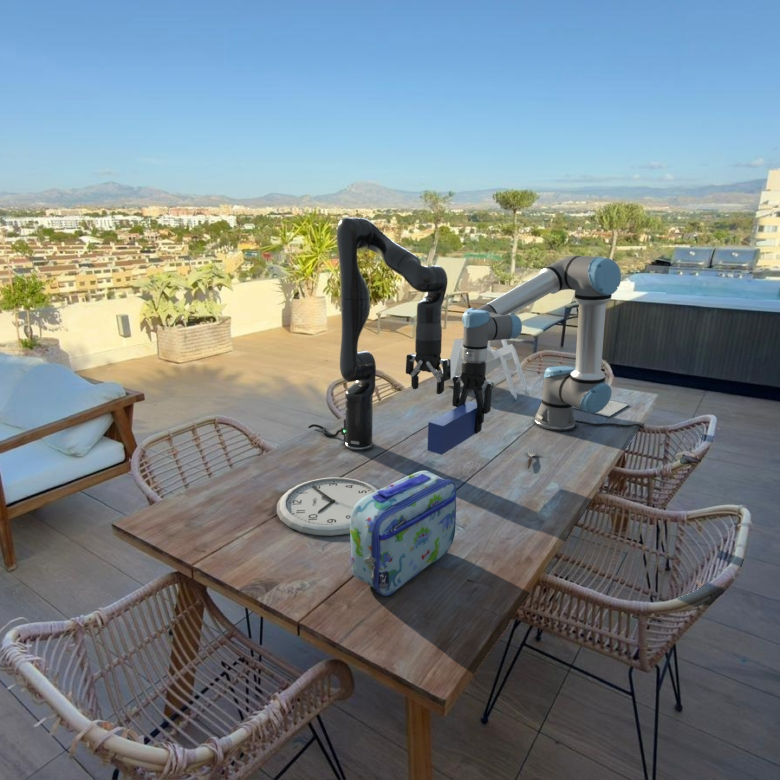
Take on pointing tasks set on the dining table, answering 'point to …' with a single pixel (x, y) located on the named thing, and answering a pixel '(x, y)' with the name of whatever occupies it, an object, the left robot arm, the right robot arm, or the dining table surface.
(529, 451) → the fork
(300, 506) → the wall clock
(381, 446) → the dining table surface
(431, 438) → the bar
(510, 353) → the white plastic object
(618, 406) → the invitation card
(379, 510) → the lunch box
